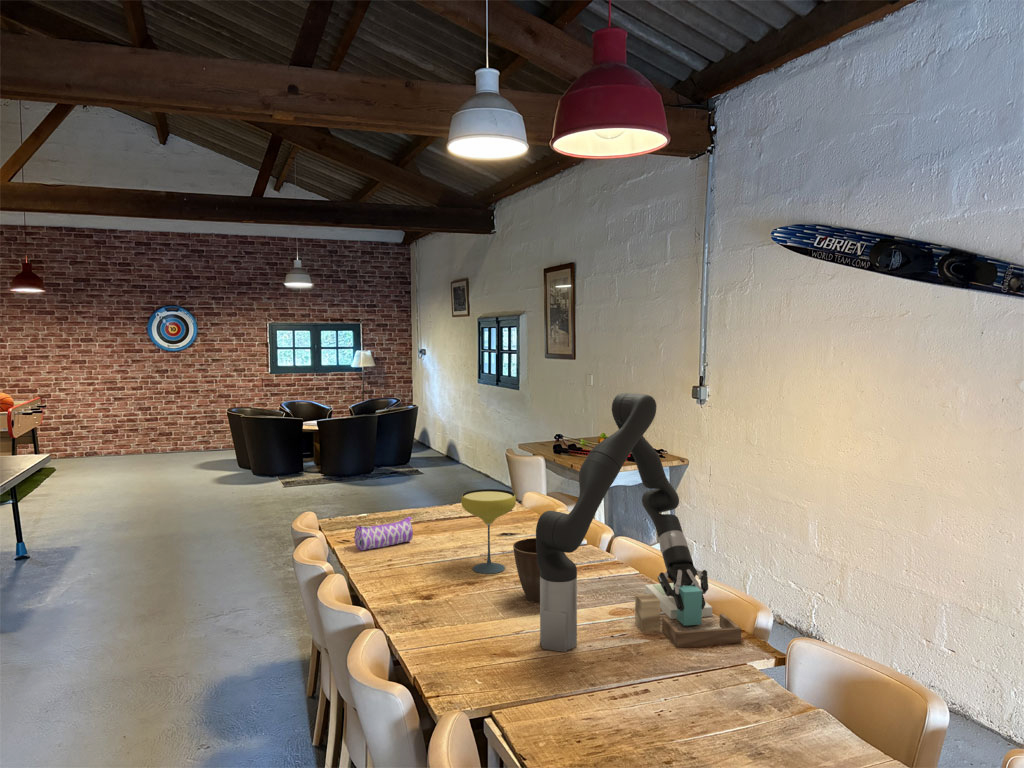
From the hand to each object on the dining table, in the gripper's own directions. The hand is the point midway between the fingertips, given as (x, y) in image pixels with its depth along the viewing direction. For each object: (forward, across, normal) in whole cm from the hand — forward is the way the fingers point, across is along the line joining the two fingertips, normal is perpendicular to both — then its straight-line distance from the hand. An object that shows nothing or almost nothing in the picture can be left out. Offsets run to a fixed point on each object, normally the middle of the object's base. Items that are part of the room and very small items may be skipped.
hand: (692, 608), depth 185 cm
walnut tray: (+8, 0, -1) cm, 8 cm away
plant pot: (-16, -36, +23) cm, 45 cm away
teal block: (+2, 0, +4) cm, 5 cm away
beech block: (+2, -12, +5) cm, 13 cm away
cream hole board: (-8, +2, +15) cm, 17 cm away
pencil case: (-59, -82, +67) cm, 122 cm away
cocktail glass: (-36, -47, +44) cm, 74 cm away
